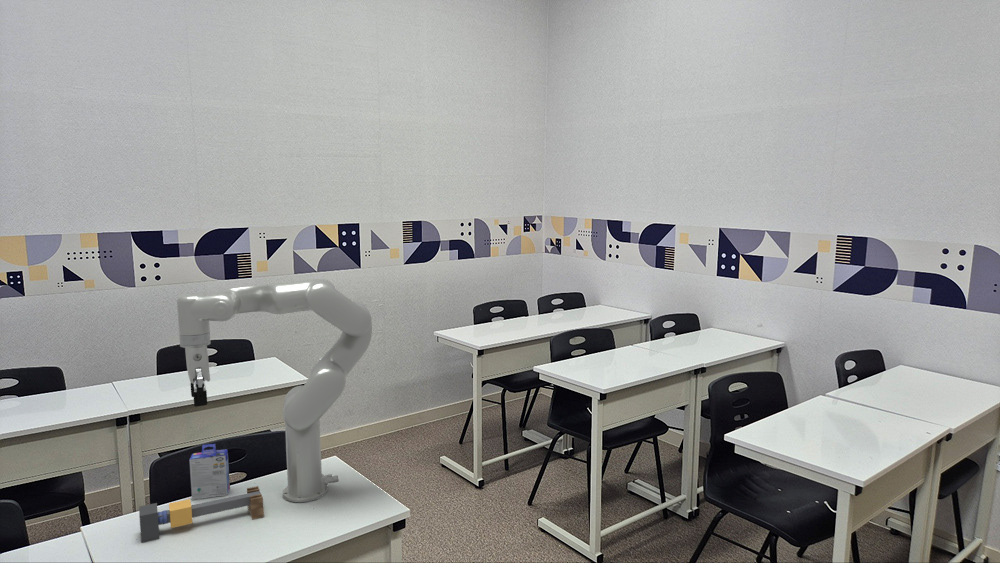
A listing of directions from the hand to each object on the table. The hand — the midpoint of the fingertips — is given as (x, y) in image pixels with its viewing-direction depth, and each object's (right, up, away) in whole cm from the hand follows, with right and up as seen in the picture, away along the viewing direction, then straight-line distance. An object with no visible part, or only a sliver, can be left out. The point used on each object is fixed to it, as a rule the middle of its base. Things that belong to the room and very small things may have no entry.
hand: (199, 400), depth 178 cm
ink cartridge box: (-2, -29, +11) cm, 31 cm away
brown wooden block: (+16, -30, 0) cm, 34 cm away
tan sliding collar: (0, -30, -9) cm, 31 cm away
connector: (-7, -32, -12) cm, 35 cm away
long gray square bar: (+5, -29, -6) cm, 30 cm away
